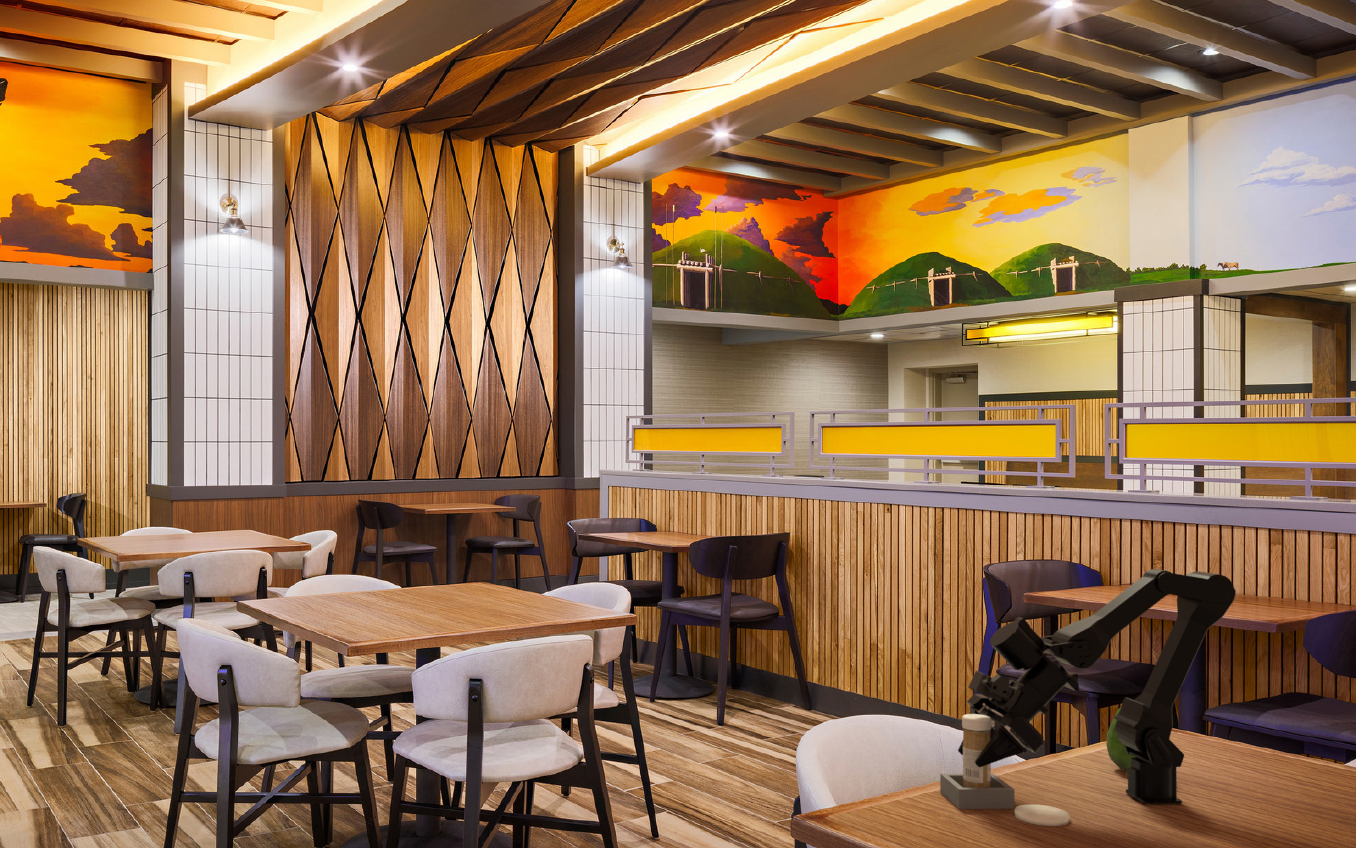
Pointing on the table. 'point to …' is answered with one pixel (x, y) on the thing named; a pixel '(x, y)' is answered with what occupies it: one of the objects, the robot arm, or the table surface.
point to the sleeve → (977, 793)
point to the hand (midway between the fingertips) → (968, 759)
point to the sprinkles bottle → (975, 750)
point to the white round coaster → (1042, 815)
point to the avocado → (1117, 748)
